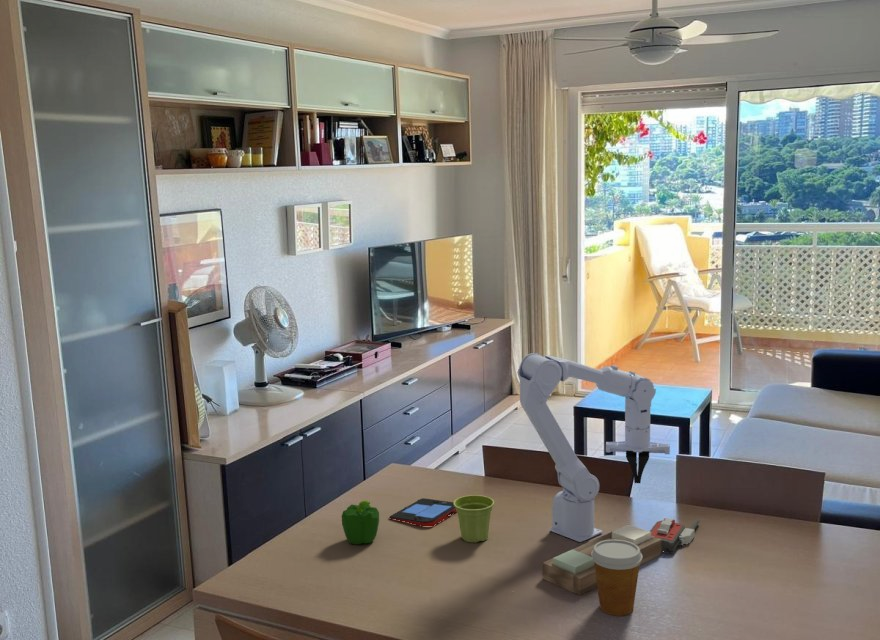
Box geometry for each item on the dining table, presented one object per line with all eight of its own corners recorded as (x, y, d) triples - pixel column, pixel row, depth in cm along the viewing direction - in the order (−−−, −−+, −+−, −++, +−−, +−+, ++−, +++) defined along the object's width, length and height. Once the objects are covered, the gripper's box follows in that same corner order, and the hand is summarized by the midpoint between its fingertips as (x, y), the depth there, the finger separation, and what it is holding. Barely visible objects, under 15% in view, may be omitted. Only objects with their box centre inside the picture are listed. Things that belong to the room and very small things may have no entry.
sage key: (553, 571, 176) (552, 558, 176) (572, 562, 180) (572, 549, 180) (575, 581, 172) (575, 567, 171) (594, 572, 176) (594, 558, 175)
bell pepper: (336, 540, 199) (333, 499, 198) (364, 530, 205) (363, 490, 203) (357, 551, 193) (355, 509, 191) (386, 541, 198) (384, 499, 197)
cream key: (611, 544, 188) (611, 531, 188) (628, 537, 192) (628, 524, 192) (634, 553, 184) (634, 539, 183) (651, 545, 188) (651, 532, 187)
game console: (421, 502, 223) (421, 493, 223) (462, 511, 216) (462, 503, 216) (387, 520, 212) (387, 512, 211) (429, 531, 204) (429, 522, 204)
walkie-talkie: (681, 559, 185) (702, 526, 202) (681, 540, 184) (702, 508, 202) (641, 552, 189) (665, 520, 207) (641, 533, 189) (665, 502, 206)
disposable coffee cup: (585, 597, 169) (585, 540, 167) (633, 594, 170) (633, 537, 168) (598, 622, 159) (598, 561, 157) (648, 618, 160) (649, 557, 158)
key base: (542, 578, 177) (542, 562, 177) (624, 540, 195) (624, 526, 194) (580, 595, 170) (580, 578, 169) (661, 554, 187) (661, 539, 187)
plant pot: (448, 543, 196) (447, 506, 195) (462, 527, 205) (461, 492, 203) (487, 548, 193) (486, 511, 191) (500, 532, 201) (499, 497, 200)
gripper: (605, 429, 198) (605, 486, 200) (670, 431, 195) (670, 489, 197) (606, 421, 205) (606, 476, 207) (669, 423, 202) (668, 478, 204)
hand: (637, 481), depth 202 cm, fingers closed
